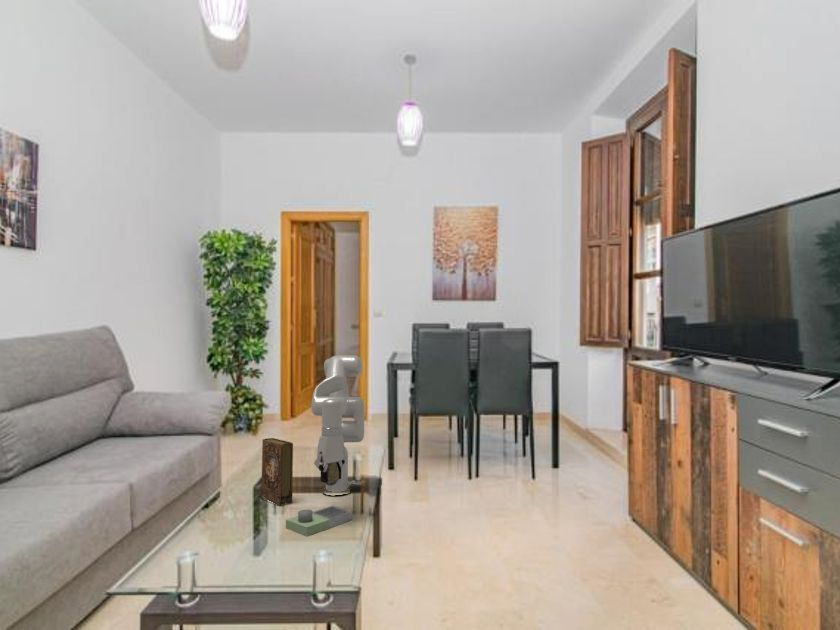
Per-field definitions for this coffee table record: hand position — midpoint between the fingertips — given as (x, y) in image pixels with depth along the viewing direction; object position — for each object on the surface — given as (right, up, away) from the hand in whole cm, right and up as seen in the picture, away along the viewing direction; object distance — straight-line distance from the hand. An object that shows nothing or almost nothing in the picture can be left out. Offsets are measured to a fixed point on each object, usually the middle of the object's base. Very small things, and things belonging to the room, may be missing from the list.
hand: (330, 479), depth 193 cm
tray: (0, -15, -1) cm, 15 cm away
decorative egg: (0, -2, 0) cm, 2 cm away
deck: (-7, -14, -9) cm, 18 cm away
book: (-27, -16, +23) cm, 39 cm away
